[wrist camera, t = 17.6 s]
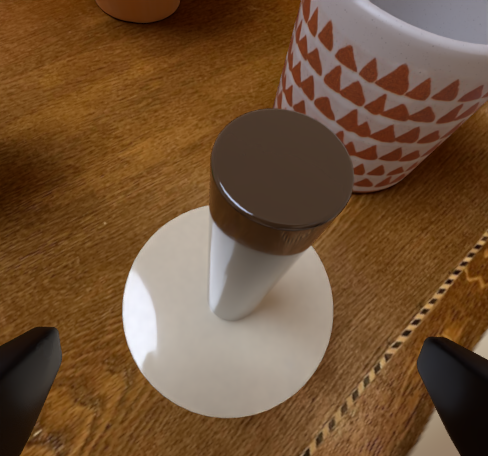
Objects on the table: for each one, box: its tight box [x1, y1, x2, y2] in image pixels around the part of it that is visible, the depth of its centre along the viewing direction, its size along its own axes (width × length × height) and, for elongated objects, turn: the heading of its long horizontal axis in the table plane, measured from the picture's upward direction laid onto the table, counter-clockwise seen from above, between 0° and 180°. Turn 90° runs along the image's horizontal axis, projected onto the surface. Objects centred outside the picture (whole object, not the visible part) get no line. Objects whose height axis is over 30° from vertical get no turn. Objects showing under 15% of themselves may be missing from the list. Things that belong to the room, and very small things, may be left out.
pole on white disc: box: [122, 108, 354, 418], centre depth 10 cm, size 10×10×11 cm
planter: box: [273, 0, 488, 193], centre depth 22 cm, size 14×14×13 cm
